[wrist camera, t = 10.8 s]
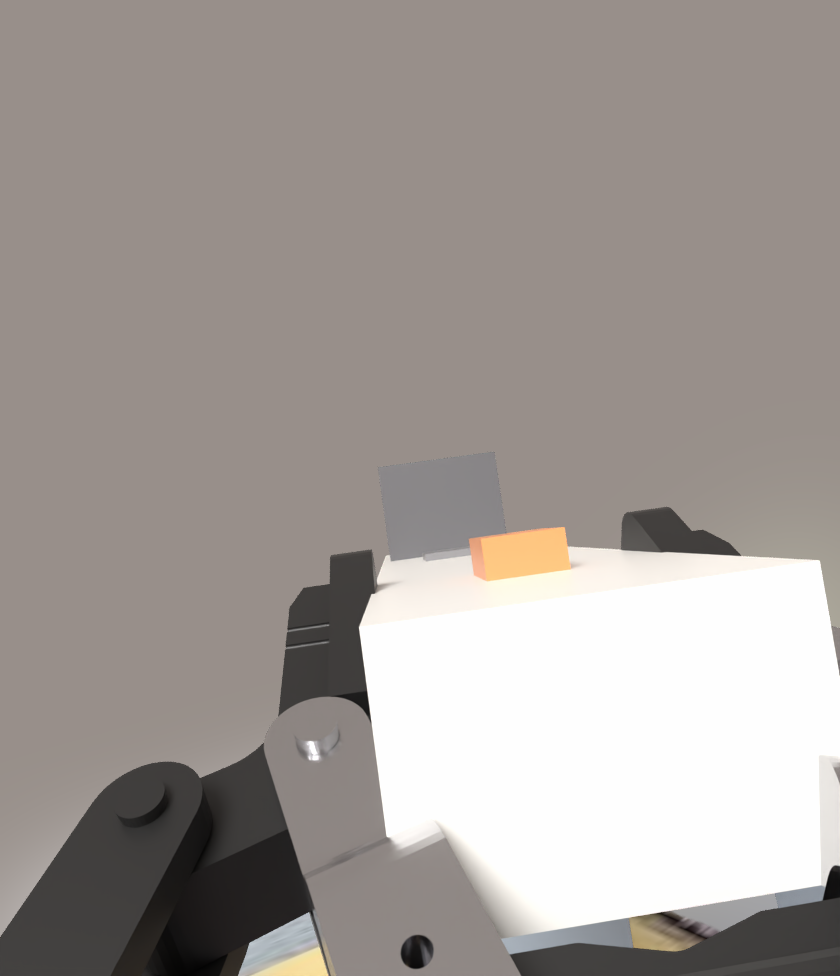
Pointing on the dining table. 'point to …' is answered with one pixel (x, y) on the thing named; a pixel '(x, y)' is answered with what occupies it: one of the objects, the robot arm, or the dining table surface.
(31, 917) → the robot arm
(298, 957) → the dining table surface
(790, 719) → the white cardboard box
